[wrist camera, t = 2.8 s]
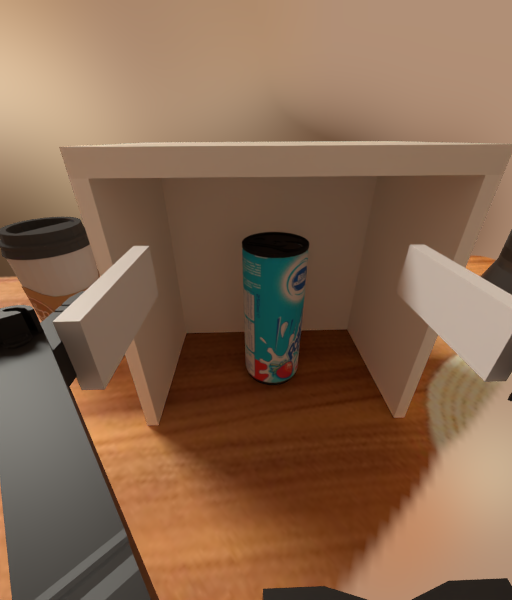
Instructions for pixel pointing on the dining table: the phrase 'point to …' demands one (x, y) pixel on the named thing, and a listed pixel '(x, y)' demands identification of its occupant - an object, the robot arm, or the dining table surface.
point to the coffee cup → (49, 260)
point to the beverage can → (273, 303)
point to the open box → (290, 219)
